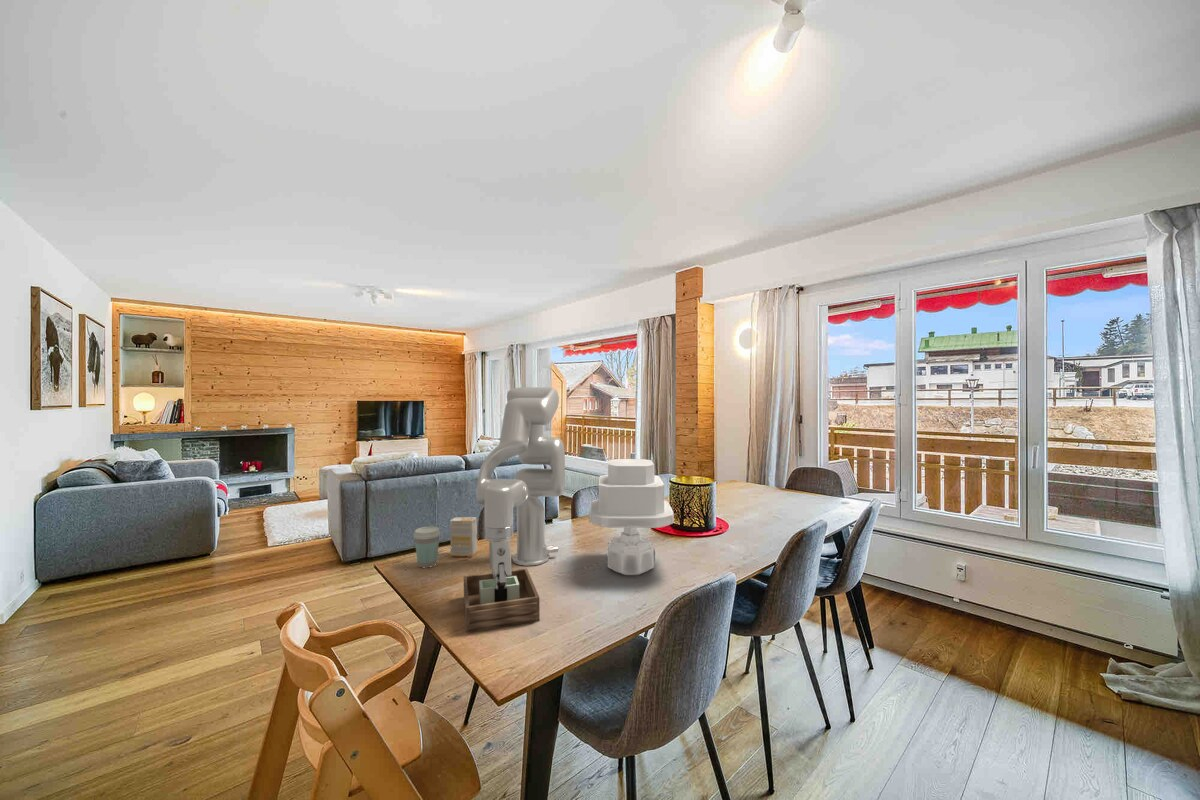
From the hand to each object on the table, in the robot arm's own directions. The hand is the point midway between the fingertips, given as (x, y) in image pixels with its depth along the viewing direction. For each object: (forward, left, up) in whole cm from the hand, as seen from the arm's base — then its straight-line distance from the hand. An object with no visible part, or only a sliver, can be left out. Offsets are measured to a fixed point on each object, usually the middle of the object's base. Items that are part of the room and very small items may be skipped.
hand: (499, 597), depth 123 cm
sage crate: (0, 0, -1) cm, 1 cm away
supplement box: (+8, -45, -3) cm, 46 cm away
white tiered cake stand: (-44, -15, -3) cm, 47 cm away
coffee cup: (+20, -39, -3) cm, 44 cm away
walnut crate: (0, 0, -3) cm, 3 cm away
